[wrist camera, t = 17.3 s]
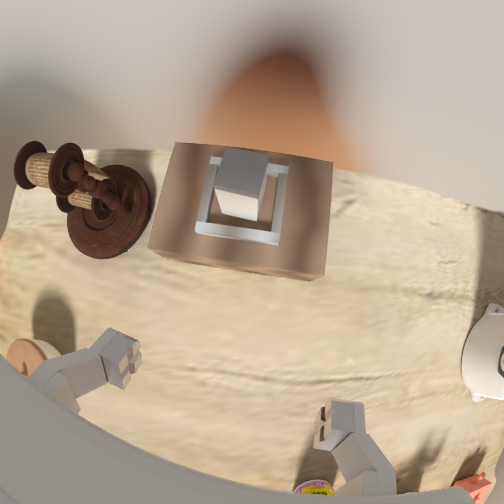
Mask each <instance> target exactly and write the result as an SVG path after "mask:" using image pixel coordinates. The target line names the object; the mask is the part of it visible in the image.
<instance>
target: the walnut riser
mask: <svg viewBox="0 0 504 504" xmlns="http://www.w3.org/2000/svg"><path fill="white" fill-rule="evenodd" d="M233 148H236V147H233ZM237 148H238V147H237ZM225 149H226V146H218V145H207V144H194V143H178V142H176V143H175V146H174V149H173V152H172V155H171V159H170V162H169V165H168V169H167V172H166V176H165V179H164V183H163V186H162V190H161V194H160V198H159V202H158V206H157V210H156V214H155V218H154V222H153V226H152V231H151V235H150V240H149V244H148V249H150V250H152V251H153V252H155V253H157V254H159V255H160V256H162V257H164V258H166V259H168V260H174V261H180V262H186V263H192V264H198V265H204V266H210V267H217V268H223V269H229V270H236V271H242V272H249V273H256V274H262V275H269V276H276V277H283V278H289V279H296V280H304V281H312V280H314V279H317V278H319V277H321V276H324V272H325V263H326V254H327V243H328V232H329V220H330V206H331V190H332V170H333V162H328V161H323V160H317V159H312V158H307V157H301V156H295V155H289V154H282V153H276V152H269V151H262V150H254V149H246V148H238V149H243V150H247V151H252V152H256V153H261V154H265V155H269V163H268V172H267V181H266V190H265V194H264V197H263V201H262V205H261V208H260V212H259V216H258V219H257V222H255V221H251V220H247V219H243V218H239V217H235V216H231V215H227V214H222V211H221V208H220V205H219V202H218V199H217V196H216V192H215V189H214V186H213V183H214V180H215V177H216V174H217V171H218V168H219V166H220V163H221V160H222V157H223V154H224V152H225Z"/></svg>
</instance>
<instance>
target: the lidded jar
mask: <svg viewBox="0 0 504 504" xmlns="http://www.w3.org/2000/svg"><path fill="white" fill-rule="evenodd" d="M58 356H61V354H60V353H59V351H58V350H57V349H56V348H55V347H53V346H52V345H51V344H49V343H47V342H45V341H42V340H37V339H17V340H15V341H14V342H13V343H12V344H11V345H10V347H9V350H8V354H7V361H8V362H9V363H11V364H12V365H13V366H14V367H15V368H16V369H17V370H19V371H20V372H21V373H22V374H23V375H24V376H26V377H27V378H28V377H29V376H30V375H31V374H32V373H33V372H34V370H35V369H36V368H37V367H38V366H39V365H40V364H41V363H42V362H43V361H44V360H48V359H51V358H55V357H58Z"/></svg>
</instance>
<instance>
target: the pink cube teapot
mask: <svg viewBox="0 0 504 504" xmlns="http://www.w3.org/2000/svg"><path fill="white" fill-rule="evenodd" d="M484 477H485V473H484V472H482V473H481V474H479V475H478V474H476V475H473V476H471V477H470V476H469V477H467V478H465V479H463V480H460V481H459V480H457V481H456V482H455V483H454V486H461V487H462V488H463V489H465V490H466V491H467V493H468V494H469V495H470V496H471V497H472V498H473V500H474V501H475V503H476V504H480V502H481V501H482V499H483V497H484V496H485V494H486V492H487V490H488V489H489V487H490V485H491V482H489V481H488V480H486V479H485V478H484Z"/></svg>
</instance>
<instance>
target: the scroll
mask: <svg viewBox="0 0 504 504" xmlns="http://www.w3.org/2000/svg"><path fill="white" fill-rule="evenodd" d="M14 177H15V180H16V182H17V184H18V185H19V186H20V187H21V188H23V189H27V190H29V189H32V188H34V187H36V186H40V187H45V188H50V189H51V191H52V192H53V193H54V194H55V195H56V202H57V206H58V208H59V209H60V210H61V211H62V212H65V213H68V215H67V227H68V232H69V236H70V238H71V240H72V242H73V244H74V245H75V247H76V248H77V249H78V250H79V251H80V252H82V253H83V254H85V255H87V256H89V257H92V258H96V259H109V258H113V257H116V256H118V255H120V254H122V253H124V252H127V251H128V249H129V248H130V247H132V246H133V245H134V244H135V242H136V241H137V240H138V239H139V237H140V236H141V234H142V233H143V231H144V229H145V227H146V225H147V222H148V219H149V215H150V209H151V198H150V193H149V189H148V187H147V184H146V183H145V181H144V180H143V178H142V177H141V176H140V175H139V174H138V173H137V172H136V171H135V170H133V169H131V168H129V167H127V166H123V165H110V166H106V167H103V168H101V169H99V168H98V167H96V166H95V165H93V164H92V163H90V162H88V161H86V160H84V156H83V153H82V150H81V149H80V147H79V146H78V145H76V144H74V143H66V144H64V145H62V146H61V147H60V148H59V149H58V150H57V151H56V152H55V153H47V151H46V149H45V147H44V145H43V144H42V143H40V142H37V141H32V142H29V143H27V144H25V145H24V146H23V147H22V148H21V150H20V151H19V153H18V154H17V157H16V160H15V163H14Z"/></svg>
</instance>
